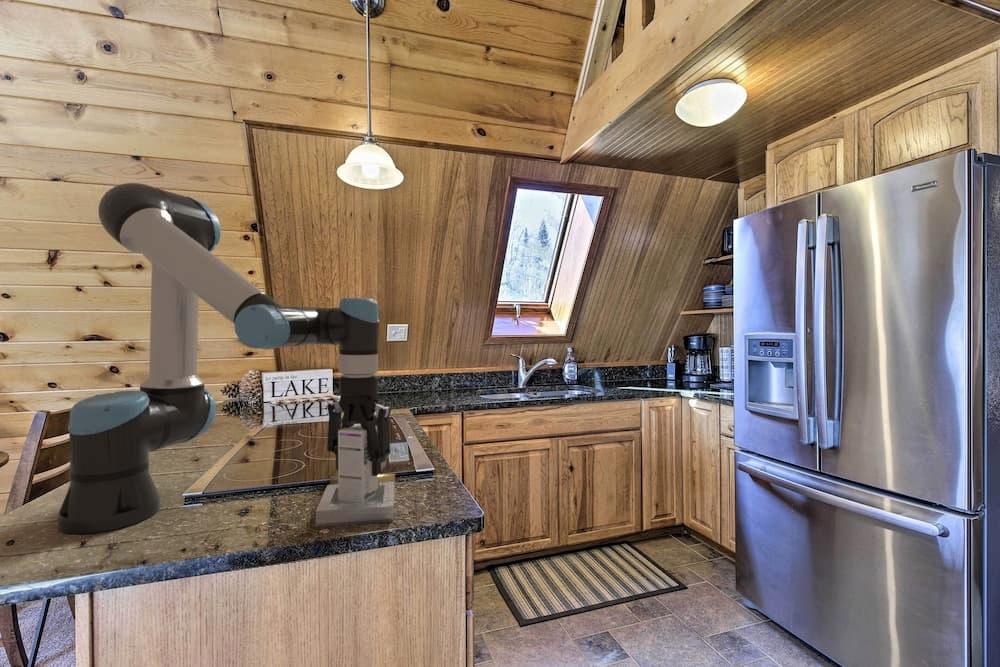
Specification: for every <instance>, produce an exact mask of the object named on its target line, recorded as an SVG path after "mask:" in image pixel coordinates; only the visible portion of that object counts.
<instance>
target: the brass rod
mask: <svg viewBox="0 0 1000 667" xmlns="http://www.w3.org/2000/svg"><path fill="white" fill-rule="evenodd" d="M393 481H394V488H395V487H396V473H384V474H383V473H380V474H379V475H378V482H393ZM329 483H330V484H329V485H335V484H338V476H331V477H330V480H329Z"/></svg>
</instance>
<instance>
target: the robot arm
mask: <svg viewBox="0 0 1000 667" xmlns="http://www.w3.org/2000/svg"><path fill="white" fill-rule="evenodd" d="M97 211H98V217H99V221H100V223H101V225H102V227H103V228H104V230H105V232H107V233H108V234H109V236H110V237H111V238H112V239H114V240H115V241H116V242H117V243H119V244H120V245H121V246H122V247H123V248H125V249H126V250H128V251H129V252H132V253H135V254H142V256H143V257H145V259H146V260H148V261H149V262H150V264H151V276H150V277H151V280H150V281H151V283H150V285H151V286H150V287H151V288H150V321H149V324H150V327H149V328H150V329H149V370H148V371H149V372H148V374H149V375H148V377H146V379H144V380H143V381H142V382H141V383H140V384H139V390H123V391H122V390H118V391H115V392H107V393H106V392H105V393H101V394H97V395H93V396H90V397H87V398H84V399H82V400H80V401H77V403H75V404H73V406H72V407H71V410H70V412H69V423H68V426H67V430H68V432H69V433H68V434H69V474H70V476H69V477H70V478H69V480H70V482H69V486H68V489H67V492H66V494H65V496H64V499H63V502H62V504H61V507H60V509H59V512H58V514H57V515H58V516H57V529H58V530H59V531H60V532H62V533H66V534H74V535H77V534H78V535H81V534H82V535H83V534H95V533H102V532H108V531H112V530H117V529H121V528H125V527H127V526H131V525H132V526H133V525H135V524H137V523H140V522H143V521H144V520H147V519H149V518H150V517H151V518H152V516H154V515H155V514H157V513H158V512H159V510H161V500H160V499H161V498H160V494H159V492H158V490H157V487H156V485H155V483H154V480H153V478H152V475H151V473H150V467H149V465H150V463H149V462H150V461H149V453H151V452H155V451H158V450H160V449H161V450H162V449H164V448H168V447H171V446H174V445H177V444H184V443H188V442H190V441H191V440H193V439H195V438H197V437H200V436H202V435H204V434H205V433H206V432H207V431H208V430H209V428H210V427H212V424H213V423H214V420H215V418H216V411H217V408H216V401H215V399H214V397H212V394H211V392H209V391H208V390H207V389H206V388H205V381H204V379H202V378H201V377H199V375H198V374H197V373H198V371H197V370H198V368H197V367H198V342H199V341H198V340H199V339H198V338H199V337H198V336H199V335H198V334H199V307H200V306H199V300H203V301H204V302H205V303H206V304H208V305H209V306H210V307H211V308H213V309H214V310H215V311H216V312H218V313H219V314H221V315H222V316H223V317H224V318H226V319H227V320H229V321H230V322H231V323H232V324H234V331H235V334H236V336H237V338H238V341H239V342H241V344H243V345H244V346H245V347H247V348H250V349H256V350H257V349H259V350H274V349H278V348H280V349H281V348H287V347H289V348H290V347H298V346H299V347H300V346H310V345H327V346H328V345H334V346H338V347H339V357H338V358H339V359H338V360H339V361H338V362H339V363H338V364H339V366H338V373H339V374H340V375H341V376H339V379H338V380H339V381H338V389H339V390H338V392H339V395H340V399H339V400H338V401H334V402H330V403H328V404H327V405H326V407H327V411H328V412H327V413H328V427H327V428H328V429H327V444H326V445H327V447H326V449H327V451H328V452H329V453H330V452H332V453H334V455H335V463H336V464H335V469H336V471H337V472H338V430H340V429H344V428H348V427H351V426H354V424H355V423H356V421H358V422H360V425H361V427H362V428H363V429H364V430H366V431H367V446H368V450H369V454H370V459H369V460H367V493H371V492H373V491H375V490H376V489H378V475H379V474H382V473H381V472H382V471H381V458H383V457H385V456H387V455H388V456H389V455H390V454H391V442H390V441H391V436H390V415H391V411H392V407H391V406H389V405H388V406H384V405H382V404H379V401H378V393H379V377H378V376H377V375H376V374H378V372H379V329H380V328H379V325H380V318H379V304H378V301H377V300H375V299H373V298H368V297H367V298H365V297H364V298H363V297H344V298H341V299H340V300H339V304H338V307H313V306H312V307H308V306H292V305H291V306H288V305H287V306H286V305H282V304H280V303H279V302H277V301H276V300H275V299H273V298H271V297H270V296H269V295H268V294H266V292H264V291H262V290H261V288H259V287H257V286H256V285H254V284H253V283H252V282H251V281H249V280H248V279H247V278H246V277H244V276H242V275H241V274H240V273H239V272H237V271H236V270H235V269H234V268H232V267H230V265H228V264H227V263H226V262H224V261H223V260H222V259H220V258H219V257H217V256H216V255H215V254H213V253H212V251H213V250H215V249H216V245H217V246H218V244H219V243H220V239H221V237H222V236H221V235H222V234H221V233H222V228H221V224H220V223H221V222H220V221H219V218H218V216H217V215H216V213H215V211H213V210H212V208H210V206H208V205H207V204H205V203H203V202H200V201H198V200H196V199H195V198H193V197H190V196H186V195H181V194H177V193H174V192H172V191H171V192H170V191H167V190H164V189H160V188H157V187H154V186H153V185H147V184H145V183H139V182H128V183H127V182H125V183H121V184H118V185H116V186H113V187H112V188H110V189H109V190H107V191H106V192H105V193H104V194H103V196H102V197H101V199H100V201H99V204H98V210H97ZM199 298H200V299H199ZM342 413H343V415H342ZM375 413H376V414H375ZM374 414H375V415H376V416H377V431H376V427H375V423H376V421H375V417H374ZM368 420H369V421H368ZM367 421H368V422H367Z"/></svg>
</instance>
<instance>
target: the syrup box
mask: <svg viewBox="0 0 1000 667" xmlns="http://www.w3.org/2000/svg"><path fill="white" fill-rule="evenodd" d="M375 427H376V431H377V426H376V425H375ZM369 459H370V454H369V450H368V446H367V431H366V430H364V429H363V428H362V427H361V425H360V424H354V426H351V427H348V428H344V429H340V430H338V471H337V472H338V473H337V477H338V498H339V500H340V501H344V502H351V503H359V504H364V503H365V502H366V501H367V500H369V499H370V498H372V497H373V496H374V495H376V494H377V493H378V489H376V490H375V491H373V492H371V493H367V460H369Z"/></svg>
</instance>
